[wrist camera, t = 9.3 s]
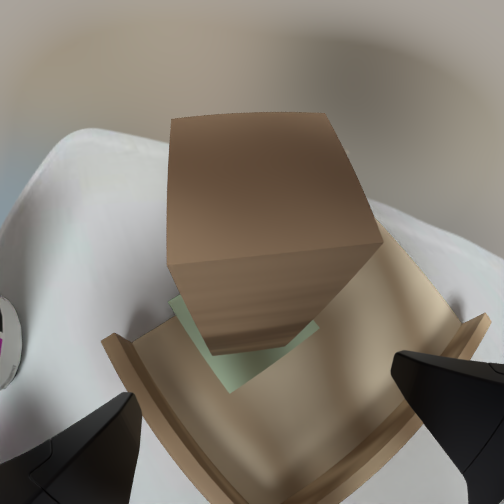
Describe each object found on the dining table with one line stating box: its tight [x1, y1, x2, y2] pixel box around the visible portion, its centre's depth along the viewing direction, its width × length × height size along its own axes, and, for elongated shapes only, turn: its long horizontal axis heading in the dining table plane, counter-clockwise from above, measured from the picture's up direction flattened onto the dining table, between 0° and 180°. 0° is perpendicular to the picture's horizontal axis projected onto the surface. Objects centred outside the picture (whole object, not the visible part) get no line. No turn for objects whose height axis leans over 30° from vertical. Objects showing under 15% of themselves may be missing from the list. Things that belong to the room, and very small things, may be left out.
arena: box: [101, 217, 491, 504], centre depth 16 cm, size 22×16×3 cm
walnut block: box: [167, 112, 384, 356], centre depth 12 cm, size 4×4×13 cm
